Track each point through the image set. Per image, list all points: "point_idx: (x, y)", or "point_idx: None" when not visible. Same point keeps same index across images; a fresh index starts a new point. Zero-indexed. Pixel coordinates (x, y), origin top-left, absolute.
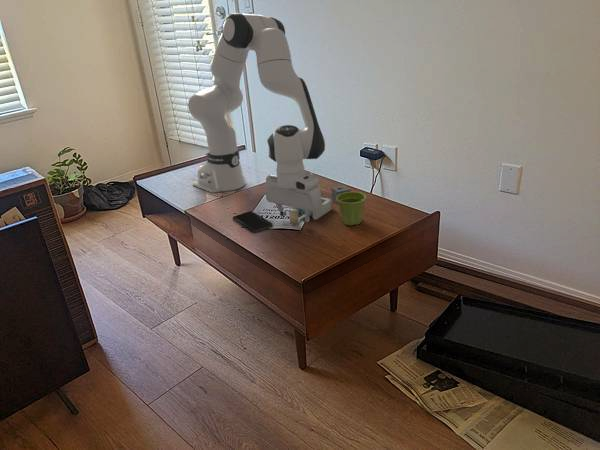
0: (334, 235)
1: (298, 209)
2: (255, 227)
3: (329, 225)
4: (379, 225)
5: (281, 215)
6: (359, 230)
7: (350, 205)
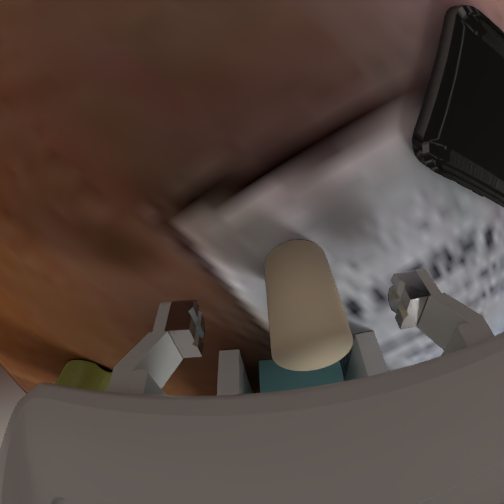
0: (17, 279)
1: (357, 366)
2: (488, 64)
3: (116, 337)
4: (41, 378)
5: (412, 273)
6: (28, 343)
7: None
